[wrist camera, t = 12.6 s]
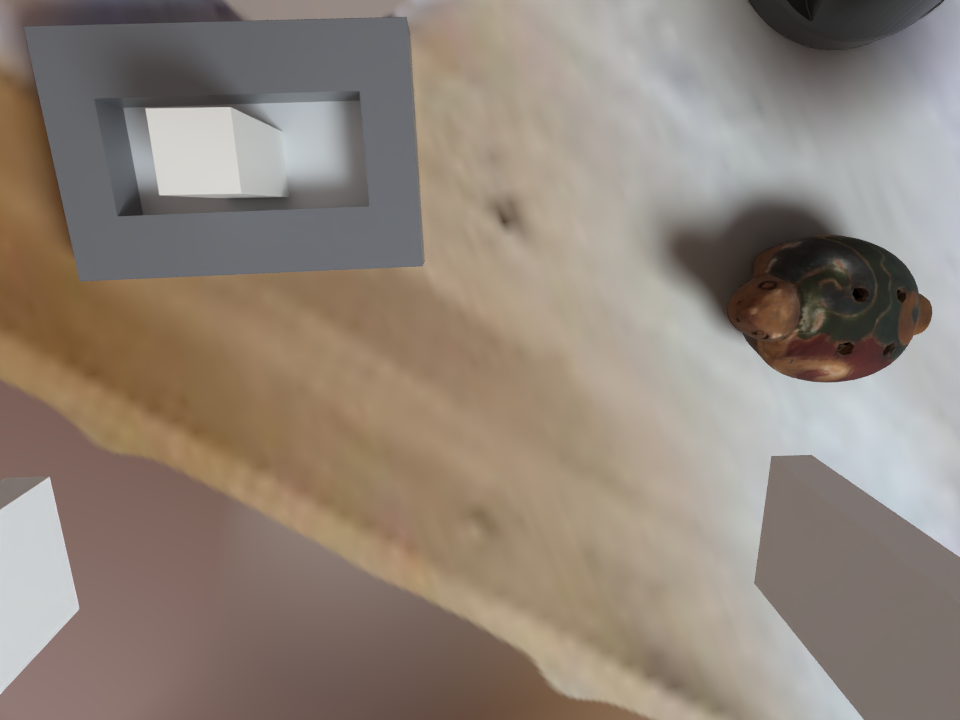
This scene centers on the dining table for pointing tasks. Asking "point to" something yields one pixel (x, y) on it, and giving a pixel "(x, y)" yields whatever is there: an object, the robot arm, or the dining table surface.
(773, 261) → the decorative turtle
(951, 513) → the dining table surface
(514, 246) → the dining table surface
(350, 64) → the block
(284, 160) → the plug
